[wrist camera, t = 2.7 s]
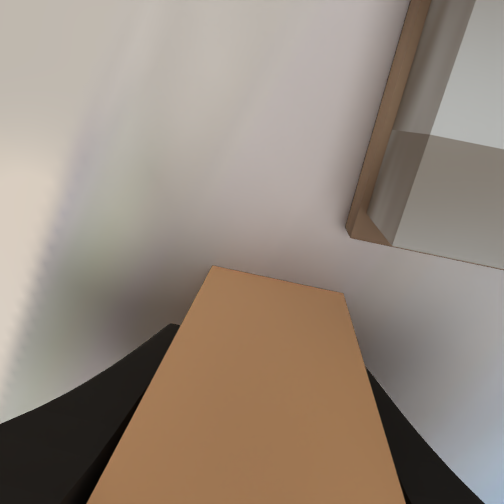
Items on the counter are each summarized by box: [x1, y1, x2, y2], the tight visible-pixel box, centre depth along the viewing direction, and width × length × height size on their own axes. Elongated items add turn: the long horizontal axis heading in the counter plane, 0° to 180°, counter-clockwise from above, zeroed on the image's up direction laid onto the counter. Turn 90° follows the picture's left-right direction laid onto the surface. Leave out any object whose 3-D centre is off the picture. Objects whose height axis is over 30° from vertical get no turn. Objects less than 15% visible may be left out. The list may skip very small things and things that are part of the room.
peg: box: [87, 266, 406, 504], centre depth 8 cm, size 4×4×8 cm
